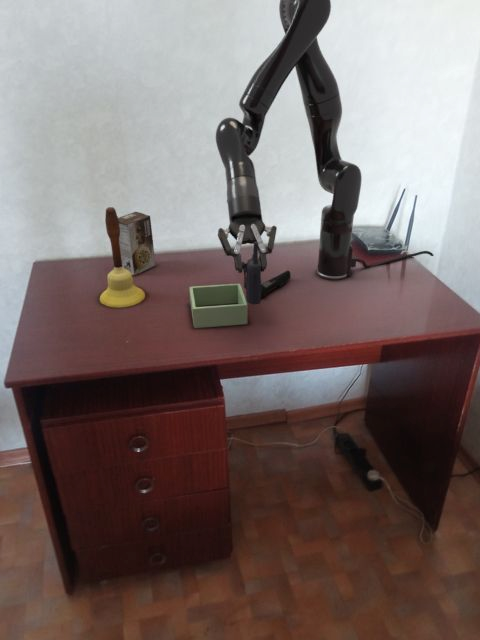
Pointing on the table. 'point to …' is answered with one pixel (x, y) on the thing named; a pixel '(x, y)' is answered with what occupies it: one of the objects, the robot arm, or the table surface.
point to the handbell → (118, 271)
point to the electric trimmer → (274, 283)
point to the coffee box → (136, 242)
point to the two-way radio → (252, 278)
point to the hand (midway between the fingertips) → (251, 270)
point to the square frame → (218, 314)
